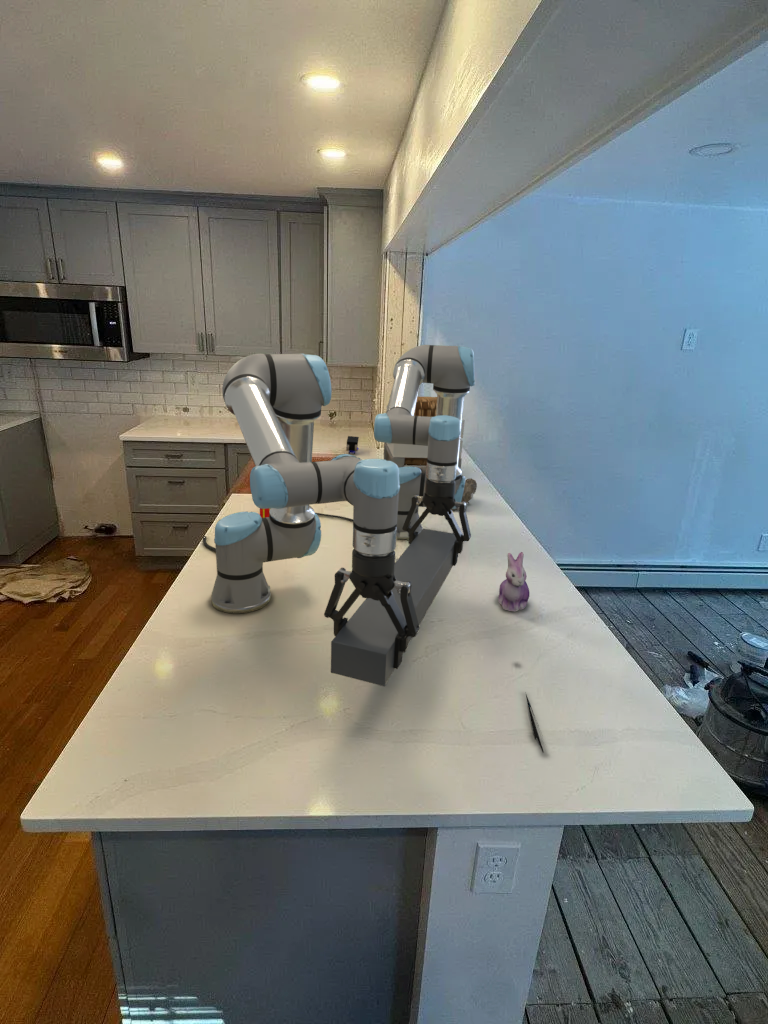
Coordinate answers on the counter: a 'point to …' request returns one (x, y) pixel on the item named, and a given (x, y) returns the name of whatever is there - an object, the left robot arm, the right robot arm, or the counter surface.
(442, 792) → the counter surface
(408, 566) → the slab
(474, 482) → the fossil
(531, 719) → the feather
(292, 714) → the counter surface
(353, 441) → the figurine character
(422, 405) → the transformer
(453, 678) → the counter surface
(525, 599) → the figurine
